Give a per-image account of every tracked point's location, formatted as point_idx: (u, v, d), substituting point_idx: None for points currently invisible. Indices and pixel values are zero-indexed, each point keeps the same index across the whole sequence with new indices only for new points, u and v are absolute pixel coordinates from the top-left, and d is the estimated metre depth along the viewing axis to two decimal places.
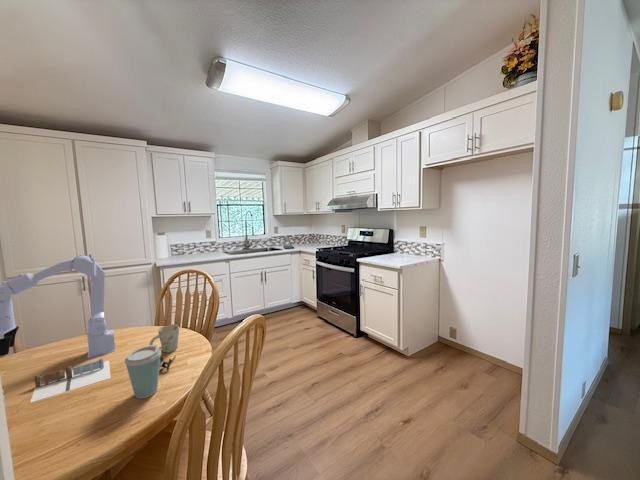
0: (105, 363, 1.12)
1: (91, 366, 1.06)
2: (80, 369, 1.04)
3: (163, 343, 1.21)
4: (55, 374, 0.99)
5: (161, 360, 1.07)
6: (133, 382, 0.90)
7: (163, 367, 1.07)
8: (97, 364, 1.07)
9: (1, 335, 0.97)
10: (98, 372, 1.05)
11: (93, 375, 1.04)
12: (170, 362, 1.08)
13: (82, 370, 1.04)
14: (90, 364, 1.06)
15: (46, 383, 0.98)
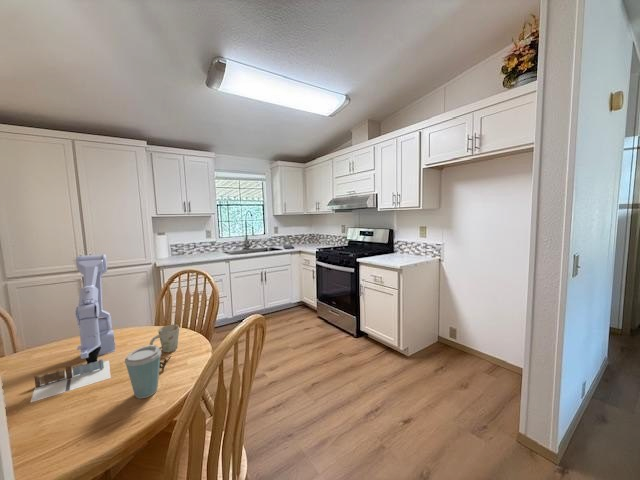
0: (105, 363, 1.12)
1: (91, 366, 1.05)
2: (79, 369, 1.04)
3: (163, 343, 1.21)
4: (55, 374, 0.99)
5: None
6: (133, 382, 0.90)
7: None
8: (97, 365, 1.07)
9: (86, 354, 1.00)
10: (98, 372, 1.05)
11: (93, 375, 1.04)
12: (165, 362, 1.08)
13: (82, 370, 1.04)
14: (90, 364, 1.05)
15: (46, 383, 0.98)
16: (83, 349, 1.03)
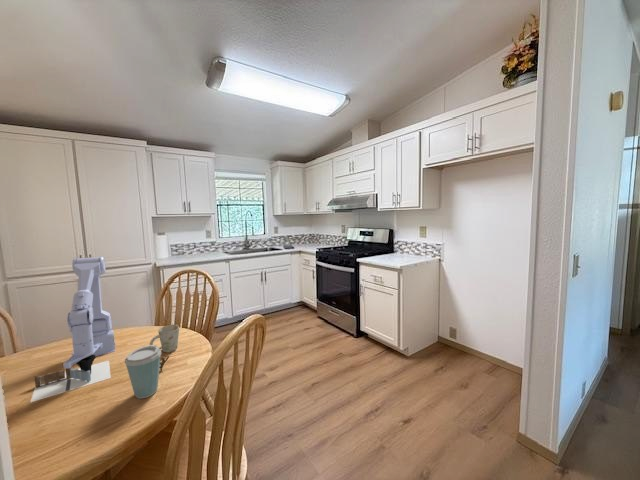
0: (105, 363, 1.12)
1: (80, 375, 1.00)
2: (73, 373, 1.01)
3: (163, 343, 1.21)
4: (55, 374, 0.99)
5: None
6: (133, 382, 0.90)
7: None
8: (84, 375, 1.00)
9: (68, 365, 0.94)
10: (98, 372, 1.05)
11: (93, 375, 1.04)
12: (163, 362, 1.08)
13: (75, 375, 1.01)
14: (79, 372, 1.00)
15: (46, 383, 0.98)
16: (73, 356, 0.98)
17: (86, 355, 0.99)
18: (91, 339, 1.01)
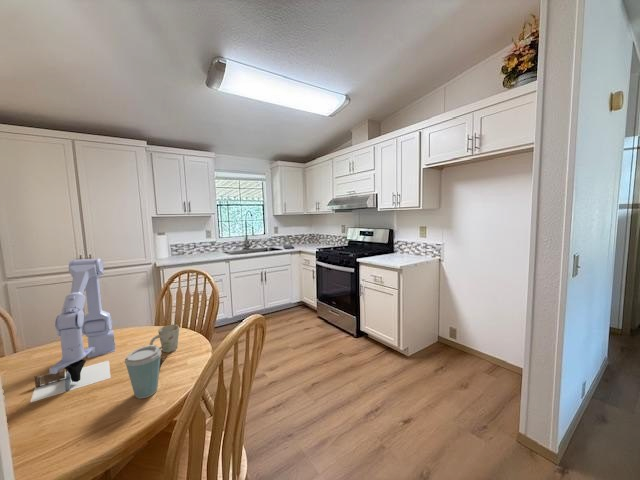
0: (105, 363, 1.12)
1: None
2: None
3: (163, 343, 1.21)
4: (55, 374, 0.99)
5: None
6: (133, 382, 0.90)
7: None
8: None
9: (53, 370, 0.90)
10: (98, 372, 1.05)
11: (93, 375, 1.04)
12: (161, 362, 1.08)
13: None
14: None
15: (46, 383, 0.98)
16: (62, 361, 0.95)
17: (74, 360, 0.95)
18: (80, 344, 0.97)
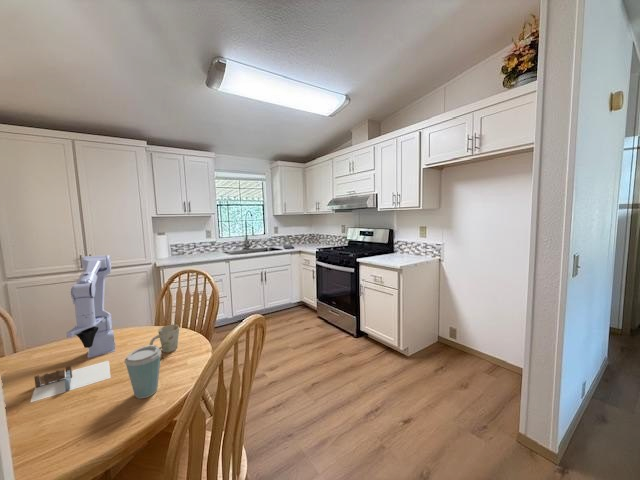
0: (105, 363, 1.12)
1: None
2: None
3: (163, 343, 1.21)
4: (55, 374, 0.99)
5: None
6: (133, 382, 0.90)
7: None
8: None
9: (70, 334, 0.99)
10: (98, 372, 1.05)
11: (93, 375, 1.04)
12: None
13: None
14: None
15: (46, 383, 0.98)
16: (76, 328, 1.04)
17: (88, 326, 1.05)
18: (93, 312, 1.07)
